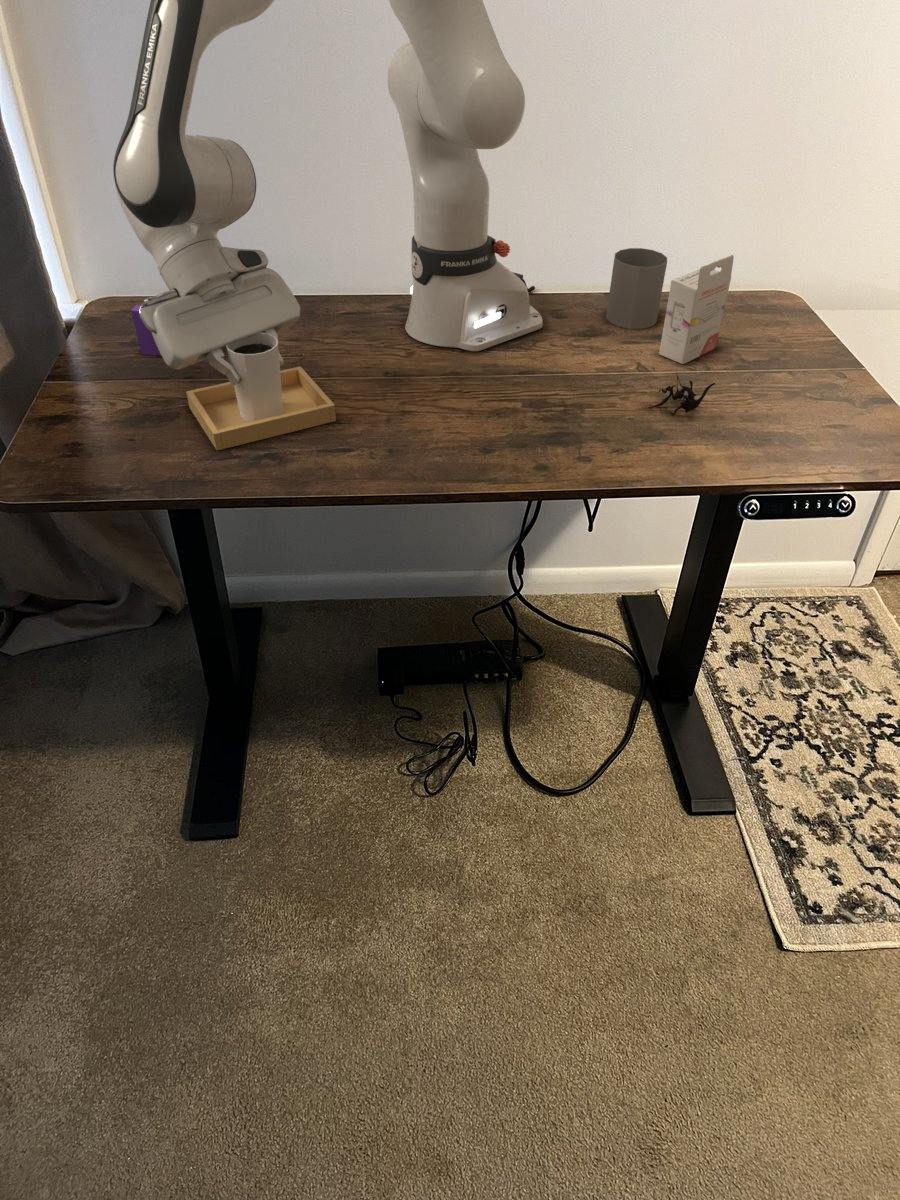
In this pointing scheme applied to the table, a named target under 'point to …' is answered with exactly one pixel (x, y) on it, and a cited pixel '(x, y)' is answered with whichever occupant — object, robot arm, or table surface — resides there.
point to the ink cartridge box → (695, 311)
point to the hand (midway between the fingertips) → (259, 374)
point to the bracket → (144, 335)
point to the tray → (230, 429)
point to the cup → (636, 288)
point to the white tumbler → (257, 376)
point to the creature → (689, 401)
